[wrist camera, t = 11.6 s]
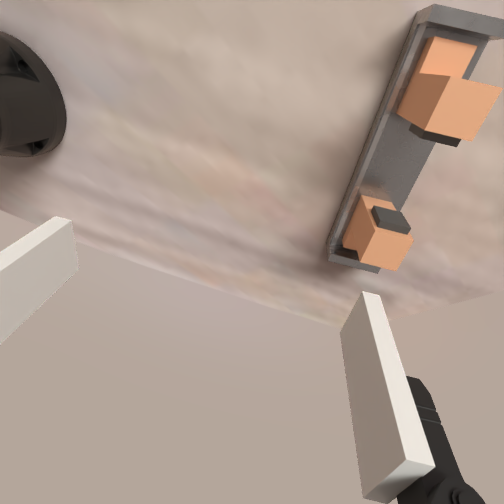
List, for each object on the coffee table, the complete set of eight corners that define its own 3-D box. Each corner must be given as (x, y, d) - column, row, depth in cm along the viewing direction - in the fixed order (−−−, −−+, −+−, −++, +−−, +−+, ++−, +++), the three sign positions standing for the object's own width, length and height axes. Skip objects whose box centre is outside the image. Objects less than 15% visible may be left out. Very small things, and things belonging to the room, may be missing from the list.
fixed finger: (392, 120, 34) (419, 139, 26) (428, 37, 30) (474, 28, 21) (427, 129, 34) (466, 151, 26) (468, 46, 30) (530, 40, 21)
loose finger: (341, 239, 43) (349, 283, 35) (363, 188, 39) (378, 223, 30) (369, 246, 43) (384, 291, 34) (394, 196, 38) (417, 233, 30)
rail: (326, 242, 46) (327, 260, 42) (417, 11, 30) (434, 3, 26) (371, 254, 46) (377, 273, 41) (486, 27, 30) (514, 21, 26)
